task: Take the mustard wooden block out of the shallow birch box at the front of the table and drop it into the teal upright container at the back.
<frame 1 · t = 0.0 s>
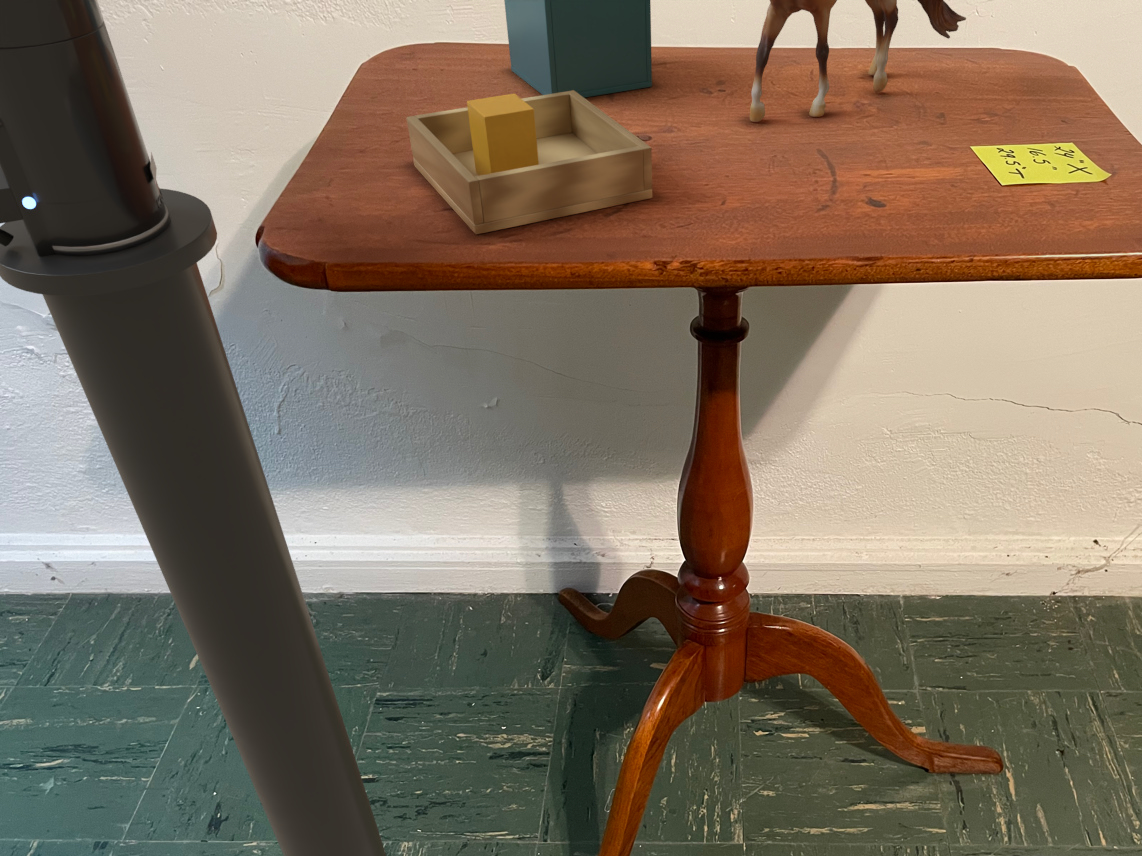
box: (530, 181, 92), on the table
block: (507, 176, 91), point 1 cm above the table, touching box
teal upright container: (580, 78, 113), on the table
horse figurine: (861, 107, 109), on the table
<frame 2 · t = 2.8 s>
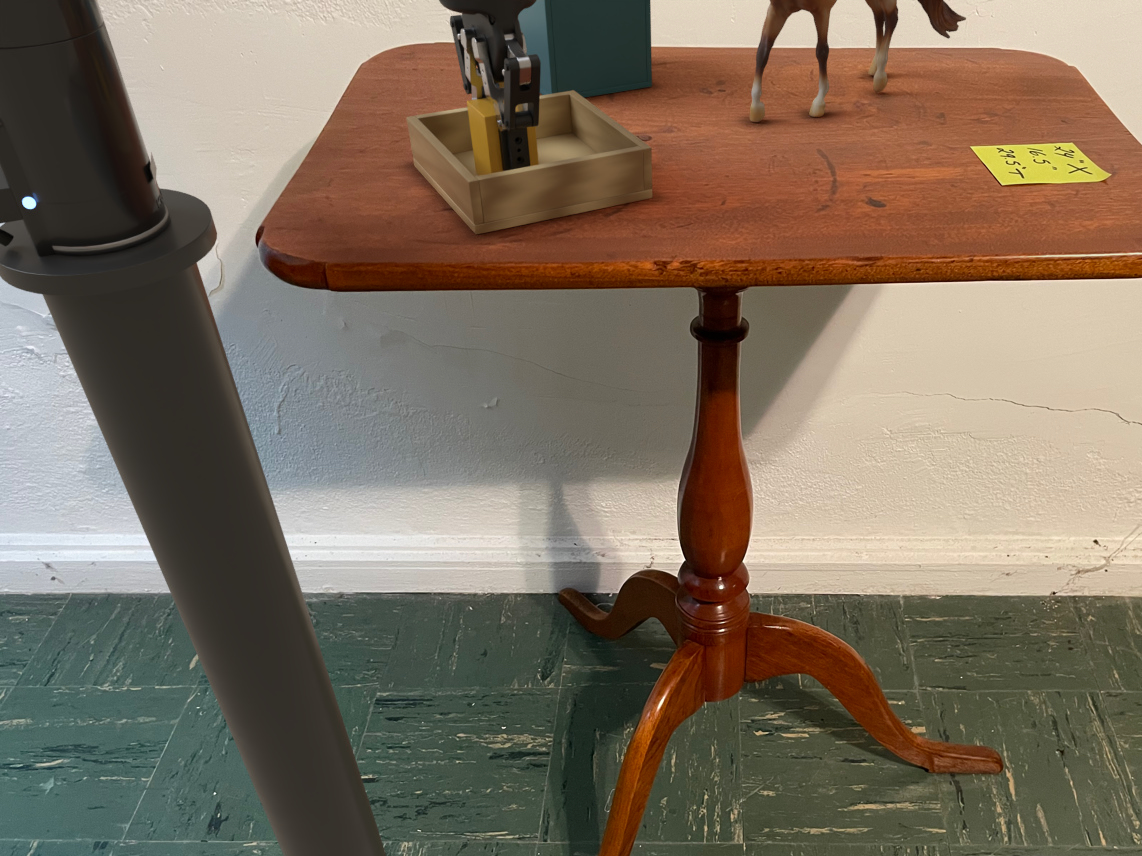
hand: (506, 162, 90), 2 cm above the table, tool pointing down, fingers closed on block, 4 cm apart
block: (507, 176, 91), point 1 cm above the table, touching box, gripper
everything else where it was.
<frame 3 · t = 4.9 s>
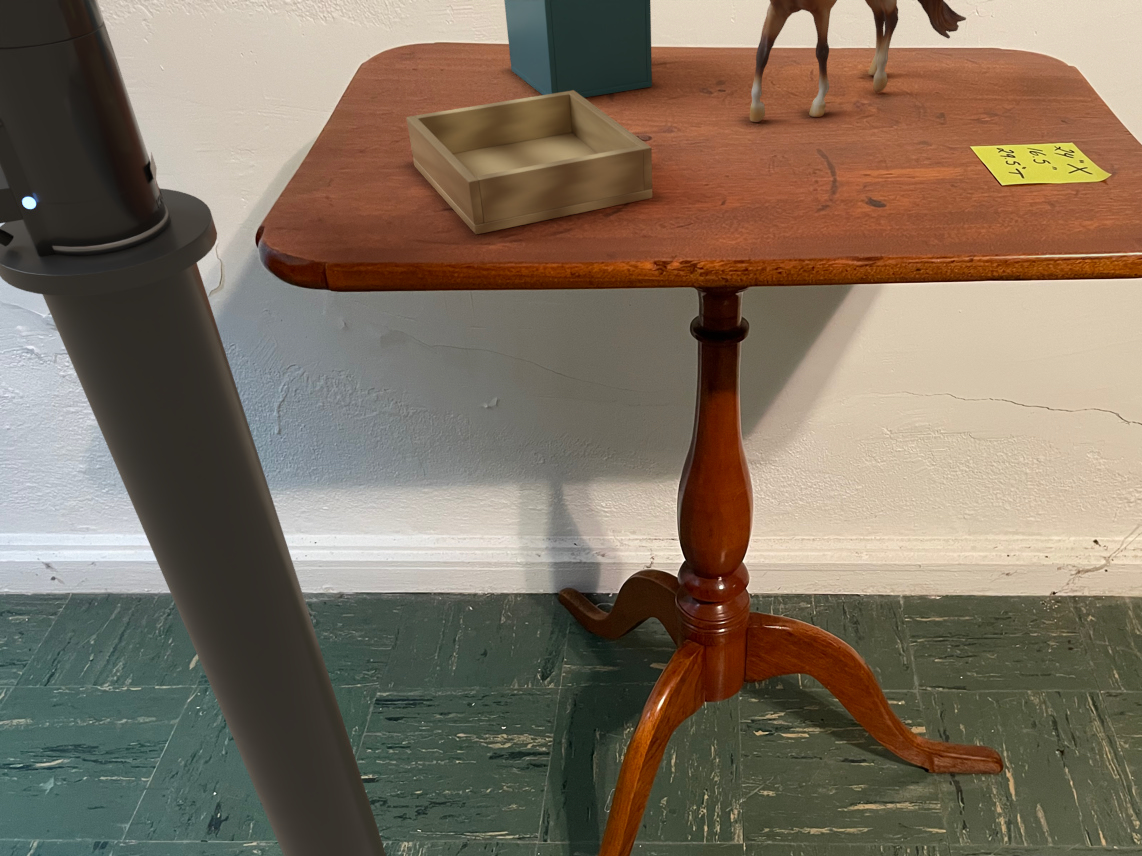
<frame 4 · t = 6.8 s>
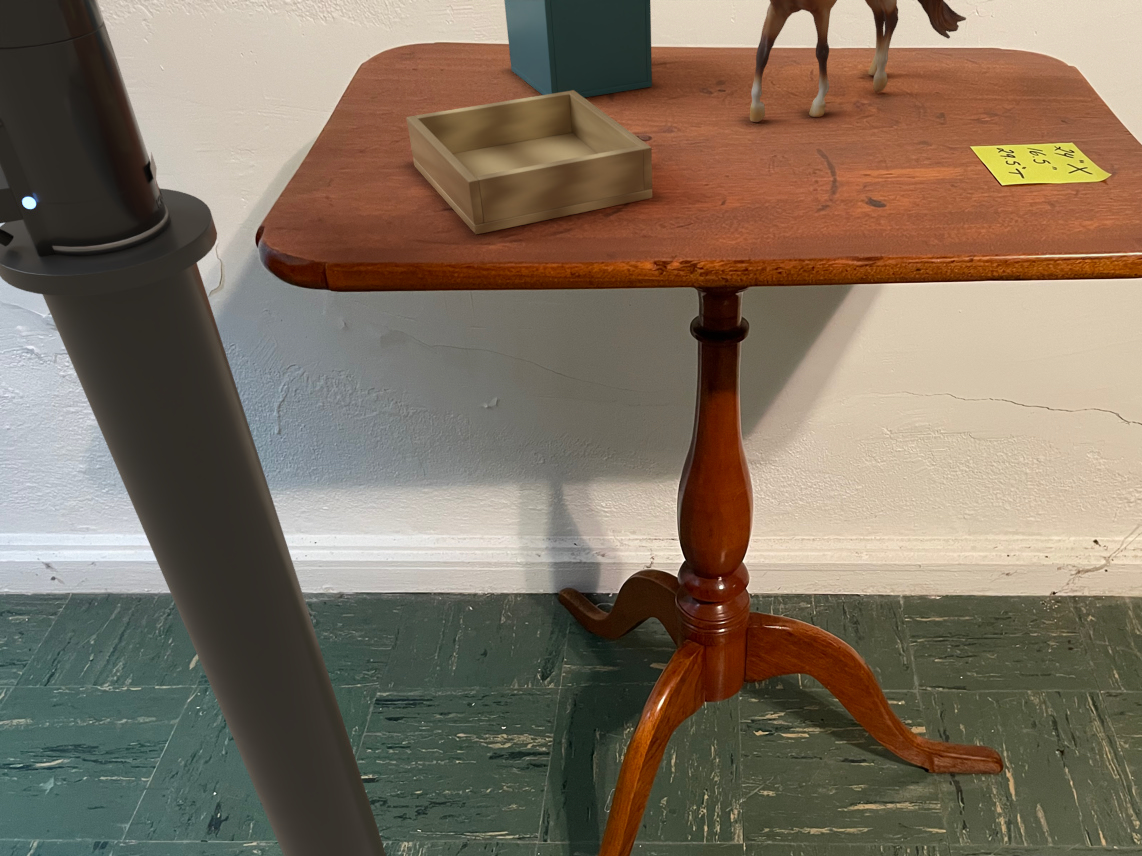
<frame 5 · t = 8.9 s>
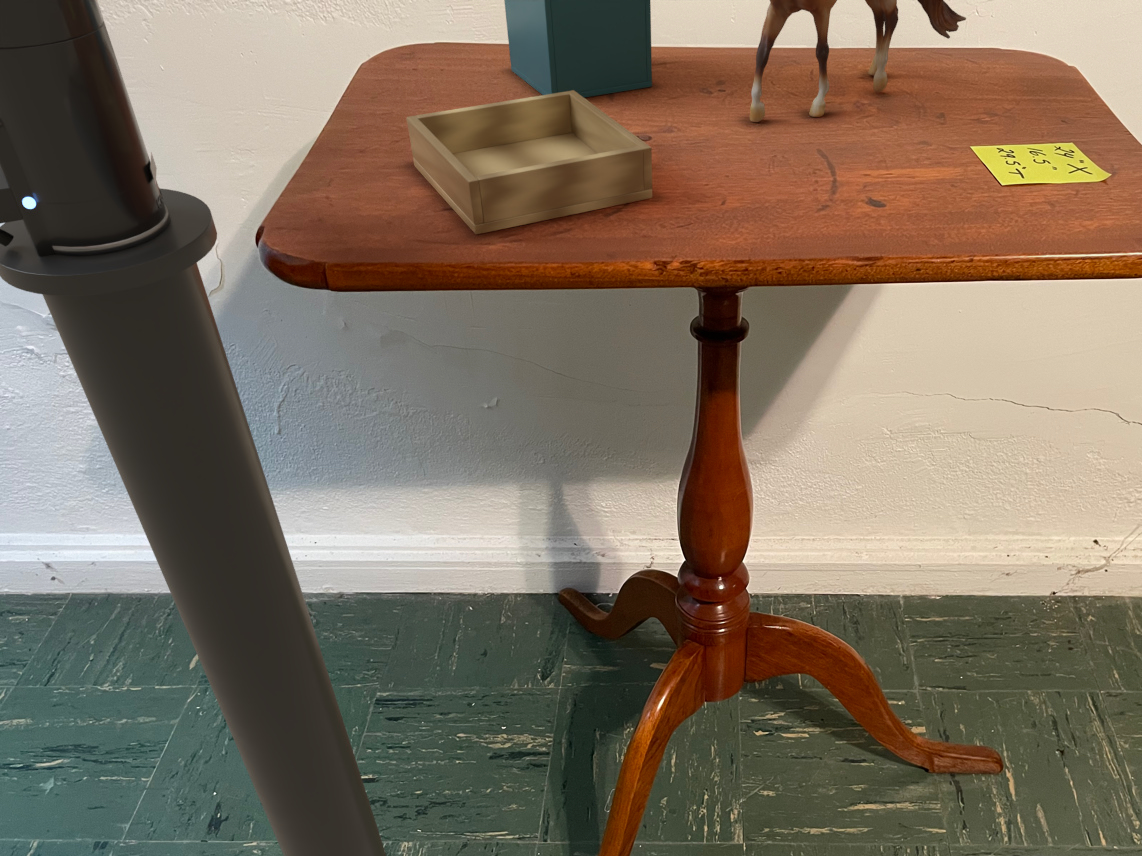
when the fingers open (11 cm above the table, at t = 10.6 s): block drops 9 cm, resting on teal upright container.
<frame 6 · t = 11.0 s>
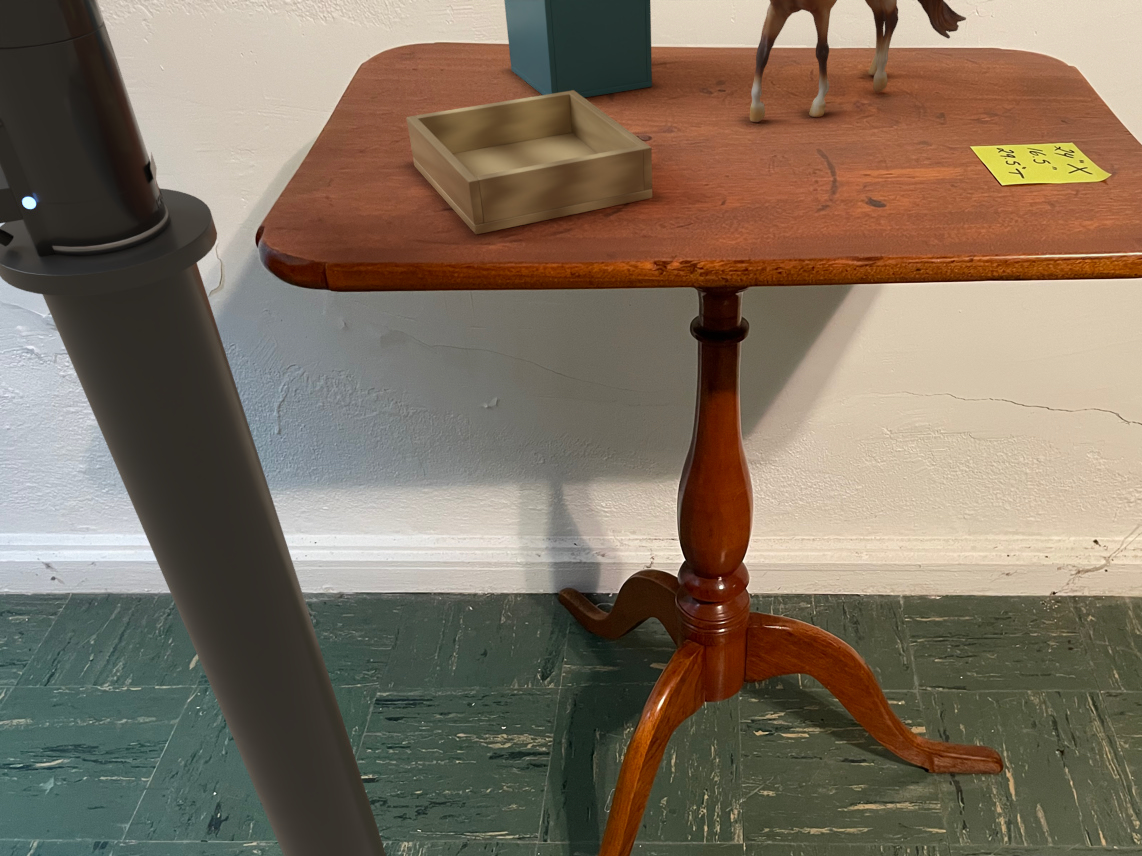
block: (580, 72, 113), point 1 cm above the table, touching teal upright container
everything else where it was.
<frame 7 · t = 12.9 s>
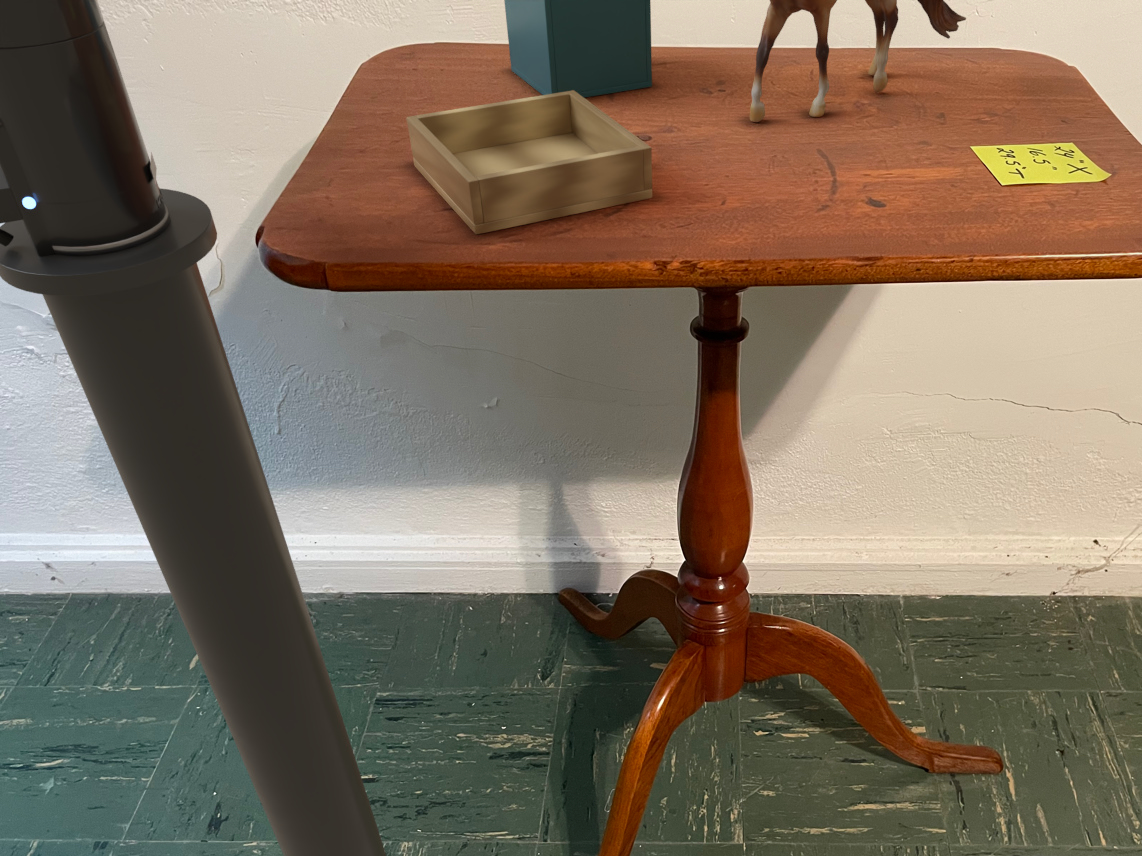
nothing on the table moved.
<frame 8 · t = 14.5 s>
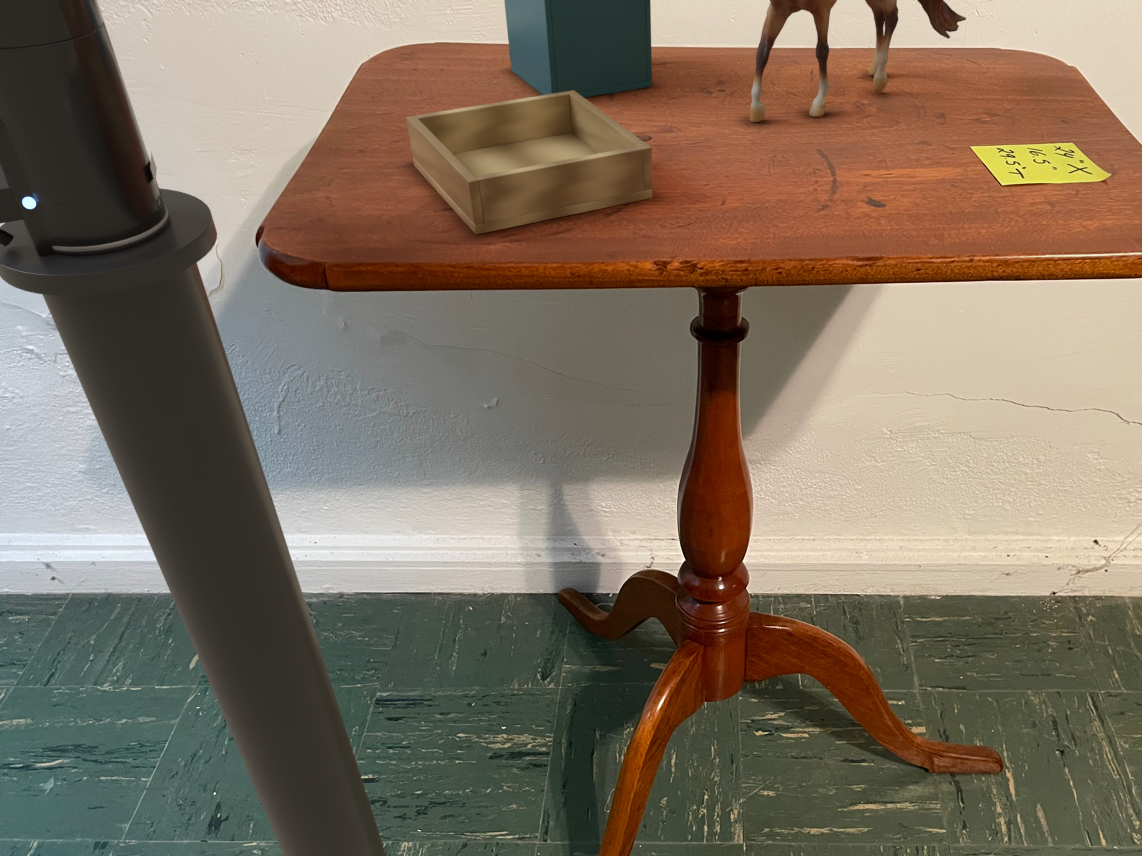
nothing on the table moved.
at the end: block inside the target area in the teal upright container (0.0 cm from its centre), point 0.6 cm above the teal upright container's base; the gripper is holding nothing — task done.
